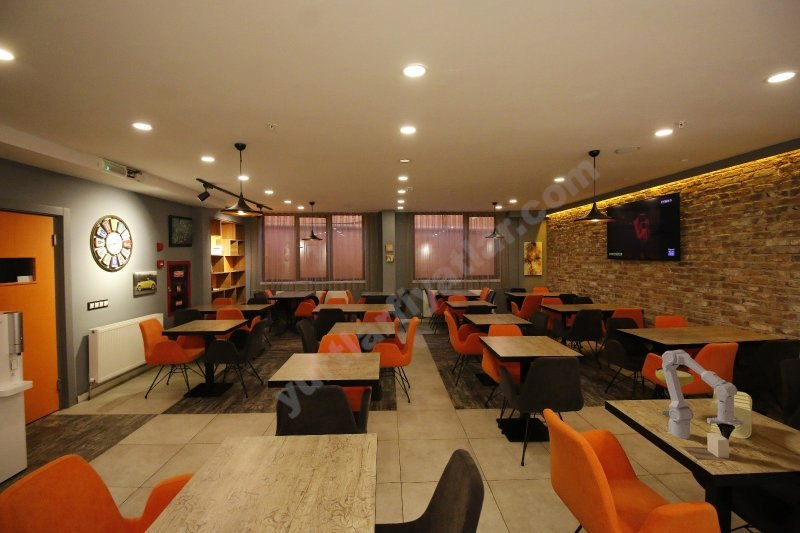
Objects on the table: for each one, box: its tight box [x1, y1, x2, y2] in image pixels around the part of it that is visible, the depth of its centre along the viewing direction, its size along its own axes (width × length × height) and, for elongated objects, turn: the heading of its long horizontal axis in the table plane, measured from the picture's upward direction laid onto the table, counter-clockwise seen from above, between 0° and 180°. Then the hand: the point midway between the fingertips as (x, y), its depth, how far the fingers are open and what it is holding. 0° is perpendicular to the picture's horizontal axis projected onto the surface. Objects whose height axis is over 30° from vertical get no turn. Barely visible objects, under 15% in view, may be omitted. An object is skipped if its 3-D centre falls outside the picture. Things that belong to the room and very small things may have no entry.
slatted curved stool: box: [709, 389, 753, 439], centre depth 205 cm, size 30×16×18 cm, turn 138°
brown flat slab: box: [681, 446, 736, 462], centre depth 179 cm, size 12×16×2 cm
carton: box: [706, 432, 730, 458], centre depth 179 cm, size 7×4×8 cm, turn 174°
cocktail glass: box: [655, 367, 695, 418], centre depth 226 cm, size 18×18×25 cm
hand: (725, 439), depth 178 cm, fingers closed
